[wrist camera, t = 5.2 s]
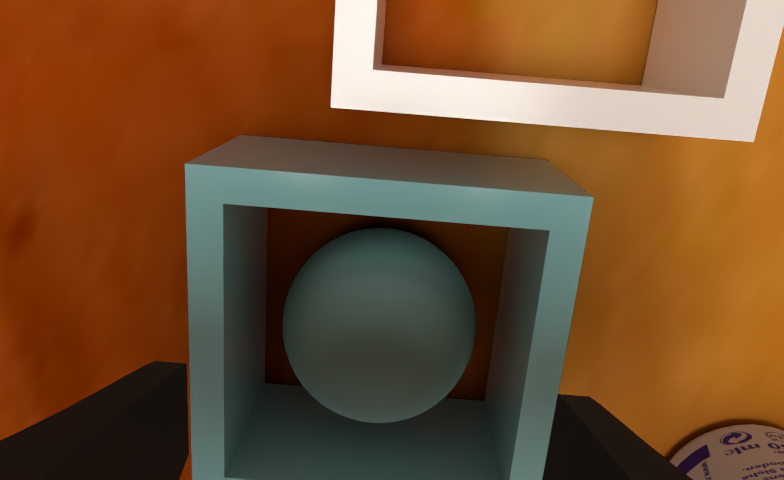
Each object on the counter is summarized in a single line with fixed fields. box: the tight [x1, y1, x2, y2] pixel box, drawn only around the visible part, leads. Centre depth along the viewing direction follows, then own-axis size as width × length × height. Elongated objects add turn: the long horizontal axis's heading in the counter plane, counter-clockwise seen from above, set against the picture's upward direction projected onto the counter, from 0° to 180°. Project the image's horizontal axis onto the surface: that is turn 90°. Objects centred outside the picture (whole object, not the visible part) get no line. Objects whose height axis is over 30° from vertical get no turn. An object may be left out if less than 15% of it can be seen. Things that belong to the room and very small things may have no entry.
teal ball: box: [283, 228, 476, 423], centre depth 16 cm, size 5×5×5 cm
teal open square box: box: [185, 135, 594, 480], centre depth 16 cm, size 9×9×4 cm
